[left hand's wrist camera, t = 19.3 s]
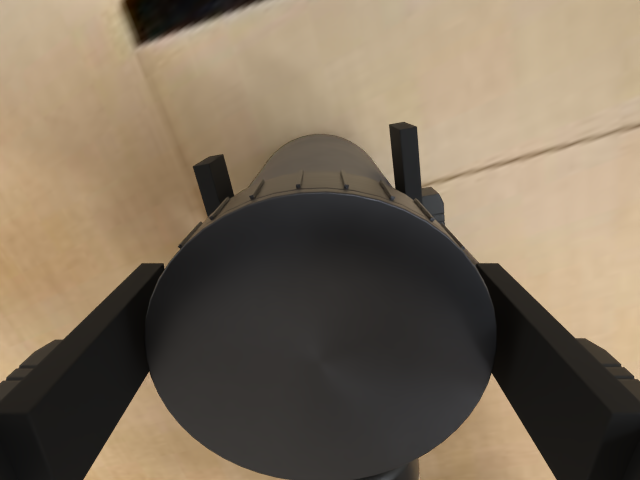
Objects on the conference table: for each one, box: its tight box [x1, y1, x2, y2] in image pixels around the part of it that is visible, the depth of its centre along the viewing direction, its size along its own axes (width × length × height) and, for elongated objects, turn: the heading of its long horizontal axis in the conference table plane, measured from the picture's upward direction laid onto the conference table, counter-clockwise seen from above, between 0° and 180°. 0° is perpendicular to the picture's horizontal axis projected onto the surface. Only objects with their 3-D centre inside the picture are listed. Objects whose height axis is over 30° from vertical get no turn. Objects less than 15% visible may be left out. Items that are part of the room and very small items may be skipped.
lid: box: [144, 170, 497, 480], centre depth 11 cm, size 10×10×2 cm
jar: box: [248, 134, 393, 188], centre depth 18 cm, size 9×9×16 cm
